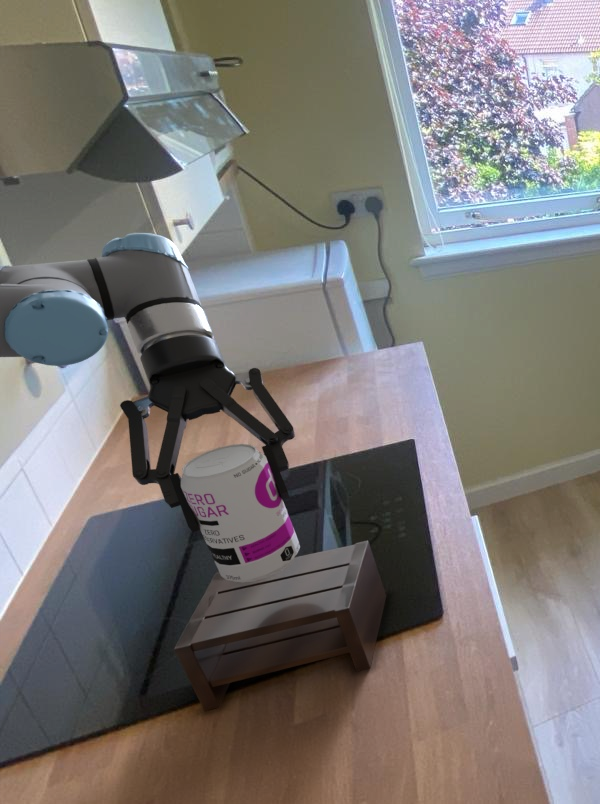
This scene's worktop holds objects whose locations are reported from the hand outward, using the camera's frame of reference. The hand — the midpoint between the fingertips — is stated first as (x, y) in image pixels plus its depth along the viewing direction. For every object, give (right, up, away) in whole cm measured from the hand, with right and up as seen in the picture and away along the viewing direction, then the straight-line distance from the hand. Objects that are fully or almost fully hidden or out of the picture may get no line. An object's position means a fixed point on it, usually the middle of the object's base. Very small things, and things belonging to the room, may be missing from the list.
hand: (241, 511), depth 86 cm
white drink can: (-1, -7, +4) cm, 9 cm away
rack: (0, -21, +11) cm, 23 cm away
